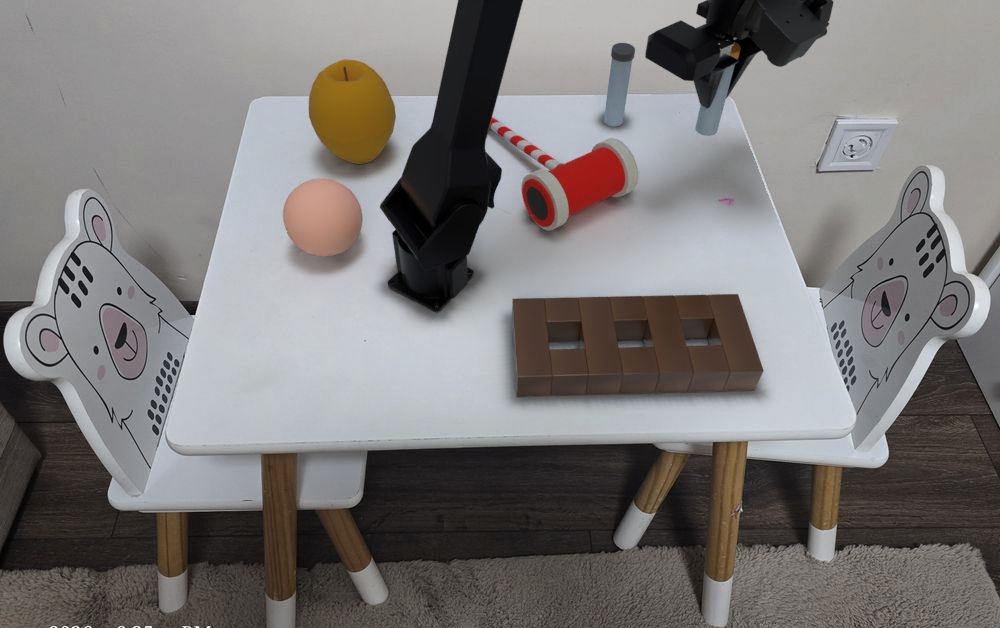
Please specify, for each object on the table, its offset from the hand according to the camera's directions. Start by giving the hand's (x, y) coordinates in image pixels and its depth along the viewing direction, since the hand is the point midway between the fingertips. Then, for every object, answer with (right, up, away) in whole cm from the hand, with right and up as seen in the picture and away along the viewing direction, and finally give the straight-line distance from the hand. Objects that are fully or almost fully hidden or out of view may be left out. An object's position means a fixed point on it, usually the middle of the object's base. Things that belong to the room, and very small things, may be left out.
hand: (713, 102), depth 81 cm
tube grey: (-9, +2, +14) cm, 17 cm away
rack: (-11, -26, -10) cm, 30 cm away
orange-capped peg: (0, -2, +3) cm, 4 cm away
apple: (-40, -4, +10) cm, 41 cm away
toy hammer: (-18, -7, +7) cm, 20 cm away
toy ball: (-41, -16, -1) cm, 44 cm away
